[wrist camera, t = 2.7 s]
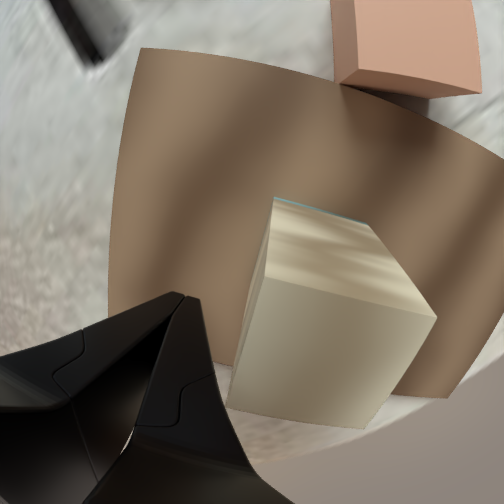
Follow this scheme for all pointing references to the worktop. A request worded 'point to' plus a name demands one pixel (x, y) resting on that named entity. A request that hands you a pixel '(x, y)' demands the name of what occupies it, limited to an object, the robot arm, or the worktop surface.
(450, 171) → the walnut board
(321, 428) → the worktop surface
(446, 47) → the terracotta cube
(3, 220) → the worktop surface
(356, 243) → the maple block
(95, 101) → the worktop surface
